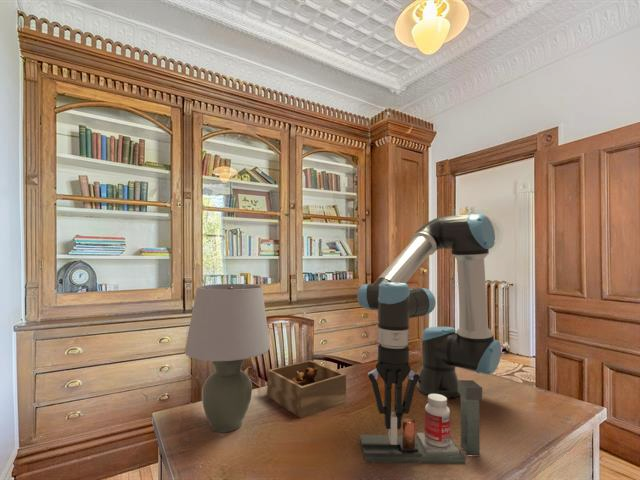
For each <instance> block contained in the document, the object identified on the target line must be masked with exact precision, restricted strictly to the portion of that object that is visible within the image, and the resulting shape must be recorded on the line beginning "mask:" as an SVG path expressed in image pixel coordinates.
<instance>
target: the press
mask: <svg viewBox="0 0 640 480" xmlns="http://www.w3.org/2000/svg"><path fill="white" fill-rule="evenodd" d="M458 392H459V393H460V448H461V447H462V448H463V449H462V448H461V449H462V451H463V452H464V451H465V452H466V453H465V452H464V453H465V454H466V456H467V455H480V454H481V452H480V449H481V448H480V446H481V445H480V439H481V437H480V431H481V430H480V401H483V387H482V386H480V385H479V384H478V383H477V382H476V381H475V380H469V379H467V380H465V379H462V380H461V379H458ZM402 438H403V434H400V435H399V434H397V445H391V443H390V441H389V434H360V443H361V448H362V452H363V453H362V454H363V457H364V461H365V463H376V464H378V463H384V464H385V463H386V464H387V463H388V464H390V463H391V464H394V463H395V464H396V463H397V464H398V463H399V464H466V456H465V455H464V454H463V452H462V451H461V450H460V448H459V447H458V445H457V444H456V442H455V441H454V440H453V439H452V437H451V436H450V444H449V445H448V446H446V447H437V446H433V445H431V444H429V443H428V442H427V441H426V439H425V432H416V434H415V444H416V446H417V448H418V452H401V450H400V448H399V443H402ZM480 456H481V455H480Z"/></svg>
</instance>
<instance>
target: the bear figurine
mask: <svg viewBox="0 0 640 480" xmlns="http://www.w3.org/2000/svg"><path fill="white" fill-rule="evenodd" d="M316 371H317V368H316V367H315V369H313V368H308V367H307V368H306V369H305V372H304V373H303V372H299V373H298V371H297V379H296V378H293V379H292V381H293V382H295V383H297V384H299V385H301V386H305V385H308V384H312V383H315V379H314V378H315V376H316Z"/></svg>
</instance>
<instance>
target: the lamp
mask: <svg viewBox="0 0 640 480" xmlns="http://www.w3.org/2000/svg"><path fill="white" fill-rule="evenodd" d="M194 296H195V297H194V302H193V306H192V312H191V315H190V316H191V317H190V322H189V327H188V332H187V338H186V343H185V347H184V348H185V349H184V353H185V355H186V356H187V357H189V358H190V359H194V360H198V361H205V362H211V364H212V366H213V370H214V371H213V372H212V373H211V374H209V376H207V377H206V379H205V381H204V383H203V384H202V389H201V403H202V408H203V410H204V414H205V417H206V419H207V421H208V423H209V426H210V428H211V430H212V431H214V432H217V433H229V432H233V431H235V430H237V429H239V428H240V427H241V426H242V423H243V421H244V418H245V416H246V414H247V412H248V410H249V406H250V404H251V399H252V393H253V392H252V391H253V383H252V380H251V378H250V377H249V375H248V374H247V373H246V371H244V370H242V366H243V364H244V363H245V360H246V359H247V360H248V359H252V358H255V357H256V358H257V357H258V356H261V355H263V354H265V353H267V352H268V351H269V350H270V347H271V346H270V339H269V338H270V337H269V330H268V323H267V322H268V320H267V315H266V306H265V299H264V298H265V297H264V291H263V286H262V285H259V284H251V283H250V284H249V283H216V284H215V283H214V284H213V283H212V284H203V285H198V286H196V290H195V295H194Z"/></svg>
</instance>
